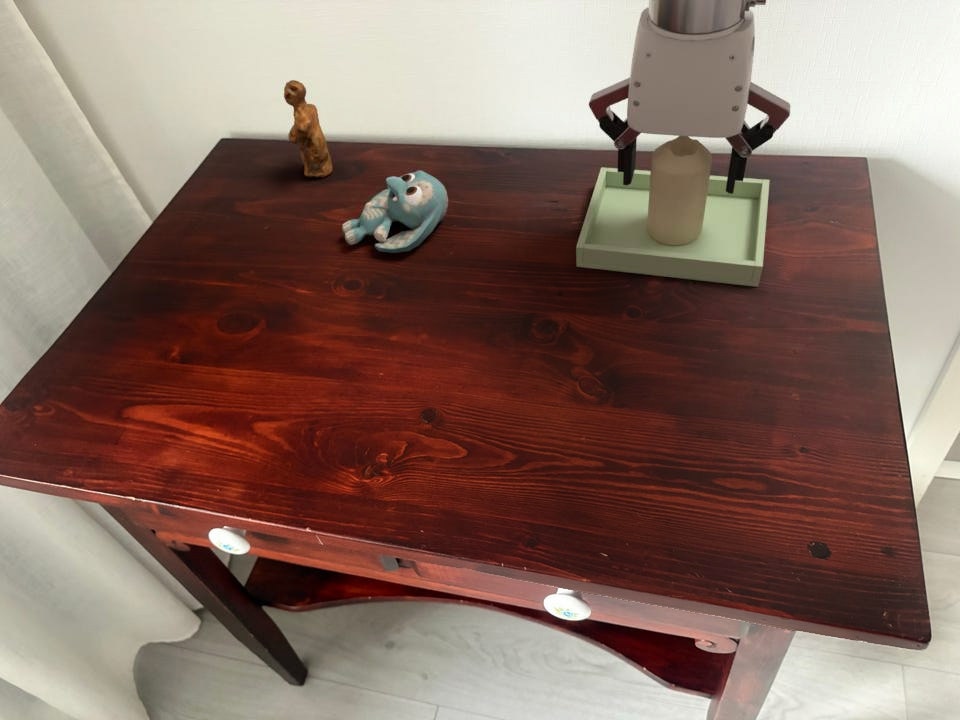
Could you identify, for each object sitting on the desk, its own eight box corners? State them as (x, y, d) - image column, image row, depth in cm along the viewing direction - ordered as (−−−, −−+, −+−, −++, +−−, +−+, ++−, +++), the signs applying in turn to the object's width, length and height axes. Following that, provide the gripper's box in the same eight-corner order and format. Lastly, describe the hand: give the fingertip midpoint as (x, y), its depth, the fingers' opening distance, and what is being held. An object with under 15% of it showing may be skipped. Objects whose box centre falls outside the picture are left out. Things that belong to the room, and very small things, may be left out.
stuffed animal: (318, 179, 81) (419, 132, 81) (346, 226, 87) (440, 182, 86) (336, 237, 74) (446, 186, 74) (365, 285, 80) (468, 237, 79)
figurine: (290, 182, 91) (257, 91, 82) (316, 156, 94) (287, 65, 85) (321, 189, 89) (291, 97, 80) (347, 162, 93) (321, 70, 84)
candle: (644, 244, 76) (649, 159, 68) (649, 210, 79) (655, 126, 72) (700, 248, 74) (712, 162, 67) (703, 213, 78) (715, 128, 70)
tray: (765, 200, 79) (769, 179, 77) (758, 287, 71) (762, 266, 69) (600, 186, 84) (601, 167, 82) (576, 266, 76) (575, 247, 74)
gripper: (814, -19, 60) (775, 164, 72) (597, -20, 64) (597, 152, 77) (813, 26, 55) (771, 213, 68) (580, 21, 60) (582, 197, 73)
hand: (678, 180), depth 73 cm, fingers open, 9 cm apart
